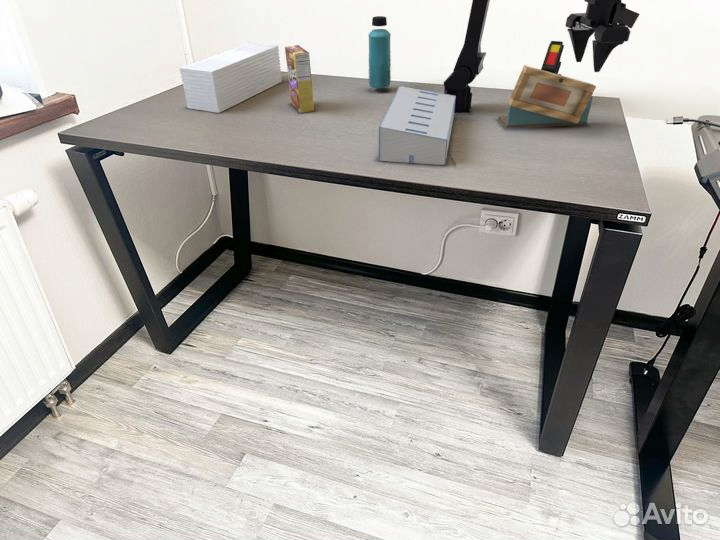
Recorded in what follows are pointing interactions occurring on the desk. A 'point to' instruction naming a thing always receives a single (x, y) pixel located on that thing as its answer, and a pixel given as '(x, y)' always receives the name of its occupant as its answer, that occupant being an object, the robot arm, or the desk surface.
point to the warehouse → (417, 127)
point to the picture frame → (551, 94)
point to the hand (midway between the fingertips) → (587, 66)
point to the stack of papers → (231, 76)
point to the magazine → (553, 57)
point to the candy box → (299, 78)
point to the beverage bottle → (379, 54)
